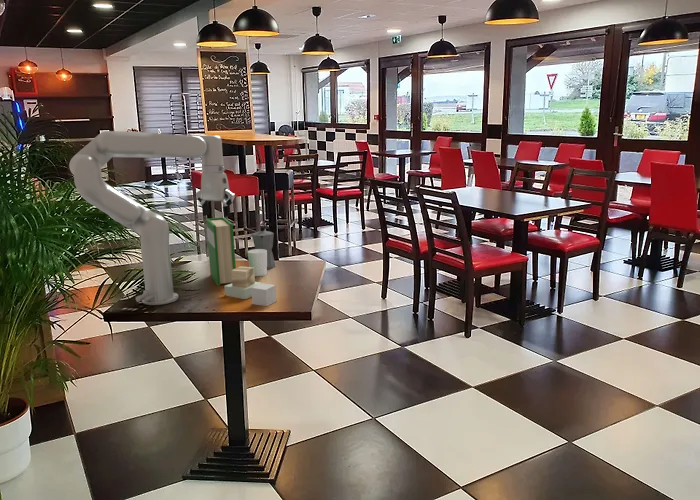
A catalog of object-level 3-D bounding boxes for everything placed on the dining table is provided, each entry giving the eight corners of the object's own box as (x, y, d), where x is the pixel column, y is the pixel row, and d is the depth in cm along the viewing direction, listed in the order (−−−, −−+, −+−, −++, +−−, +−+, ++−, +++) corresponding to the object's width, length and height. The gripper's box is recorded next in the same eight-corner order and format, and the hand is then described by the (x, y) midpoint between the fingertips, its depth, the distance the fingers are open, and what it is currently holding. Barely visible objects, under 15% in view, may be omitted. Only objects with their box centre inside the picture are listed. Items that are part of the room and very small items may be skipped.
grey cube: (266, 306, 197) (265, 289, 196) (252, 304, 200) (251, 287, 198) (276, 301, 202) (275, 285, 201) (262, 299, 205) (261, 283, 203)
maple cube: (246, 287, 207) (245, 271, 206) (232, 286, 209) (231, 270, 208) (255, 283, 212) (254, 267, 211) (241, 281, 214) (240, 266, 213)
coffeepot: (274, 270, 244) (272, 229, 240) (252, 271, 243) (250, 229, 239) (276, 261, 259) (274, 222, 255) (255, 262, 258) (253, 223, 254)
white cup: (251, 271, 242) (249, 249, 240) (269, 271, 242) (268, 248, 240) (247, 276, 235) (245, 253, 232) (266, 276, 234) (265, 253, 232)
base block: (244, 300, 205) (244, 289, 204) (225, 296, 210) (224, 285, 210) (263, 293, 213) (263, 283, 212) (244, 289, 219) (243, 279, 218)
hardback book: (236, 283, 225) (232, 223, 220) (217, 286, 222) (213, 225, 217) (228, 273, 241) (224, 217, 236) (210, 275, 238) (206, 218, 233)
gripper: (238, 169, 208) (241, 215, 212) (201, 168, 215) (204, 213, 219) (225, 171, 201) (229, 218, 205) (187, 170, 209) (191, 216, 213)
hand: (216, 215), depth 212 cm, fingers open, 9 cm apart
